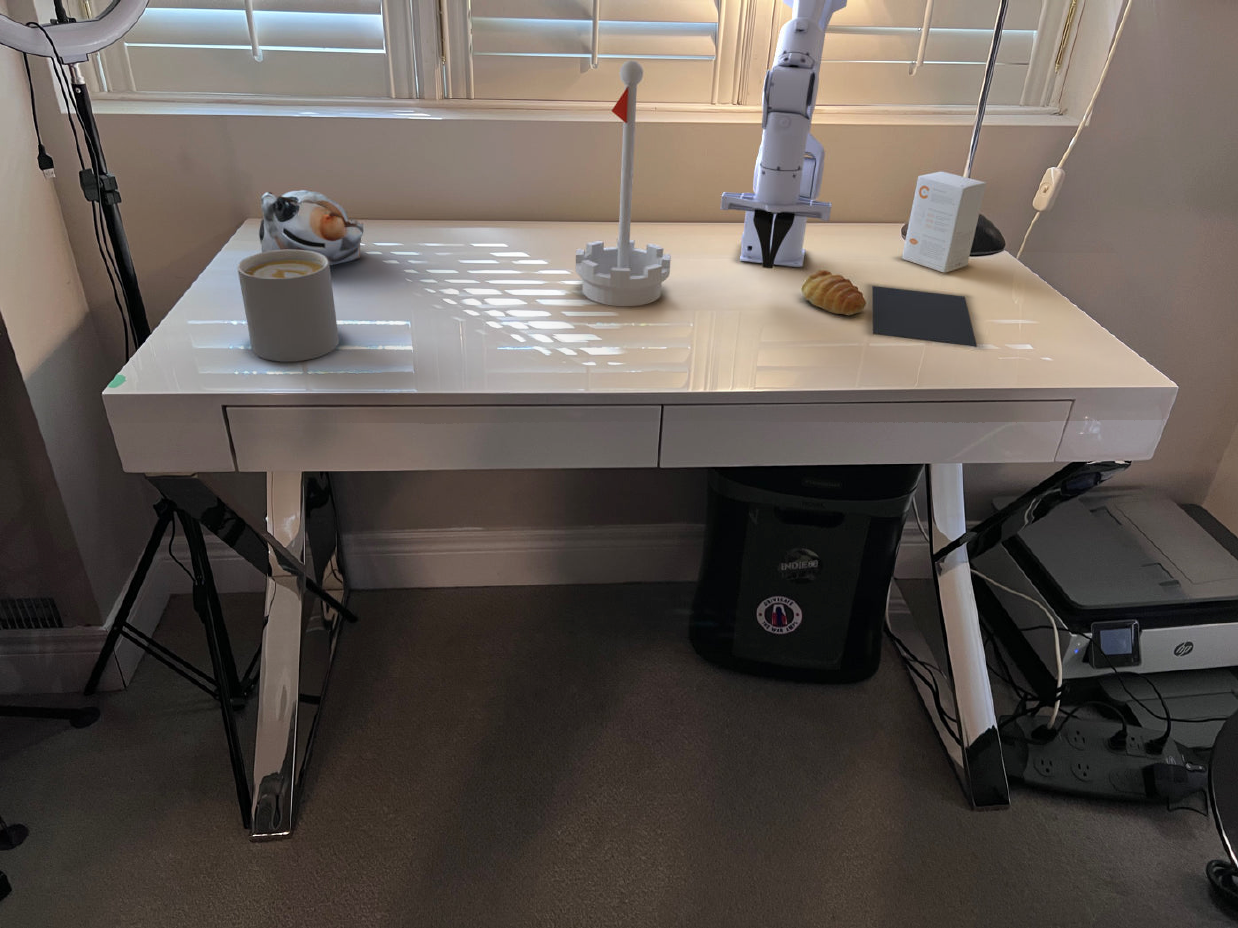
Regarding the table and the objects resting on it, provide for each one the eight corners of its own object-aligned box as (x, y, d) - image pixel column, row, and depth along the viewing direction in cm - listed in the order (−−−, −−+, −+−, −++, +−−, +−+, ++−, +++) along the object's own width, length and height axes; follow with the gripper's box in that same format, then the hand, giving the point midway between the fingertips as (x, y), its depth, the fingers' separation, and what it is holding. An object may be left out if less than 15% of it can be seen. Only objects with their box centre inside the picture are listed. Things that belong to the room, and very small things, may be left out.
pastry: (876, 313, 128) (881, 286, 126) (839, 322, 125) (844, 295, 123) (829, 290, 134) (834, 265, 132) (793, 298, 131) (797, 272, 129)
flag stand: (601, 269, 138) (608, 49, 123) (682, 286, 134) (700, 60, 118) (558, 296, 128) (559, 61, 112) (644, 316, 124) (658, 73, 108)
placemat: (872, 334, 122) (873, 333, 122) (872, 287, 137) (872, 285, 137) (976, 347, 120) (976, 346, 119) (964, 297, 135) (964, 296, 134)
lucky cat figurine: (374, 249, 141) (381, 179, 130) (347, 305, 134) (352, 237, 123) (276, 216, 139) (274, 142, 128) (243, 271, 132) (238, 198, 121)
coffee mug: (336, 359, 109) (326, 277, 103) (246, 364, 107) (230, 280, 102) (342, 315, 120) (333, 239, 115) (261, 318, 118) (247, 241, 113)
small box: (967, 266, 146) (988, 182, 139) (944, 274, 142) (964, 188, 136) (923, 251, 151) (941, 170, 144) (900, 259, 148) (917, 175, 141)
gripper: (721, 167, 120) (712, 269, 127) (836, 178, 118) (819, 281, 125) (728, 155, 126) (719, 253, 133) (837, 165, 124) (821, 264, 131)
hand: (768, 265), depth 129 cm, fingers closed
